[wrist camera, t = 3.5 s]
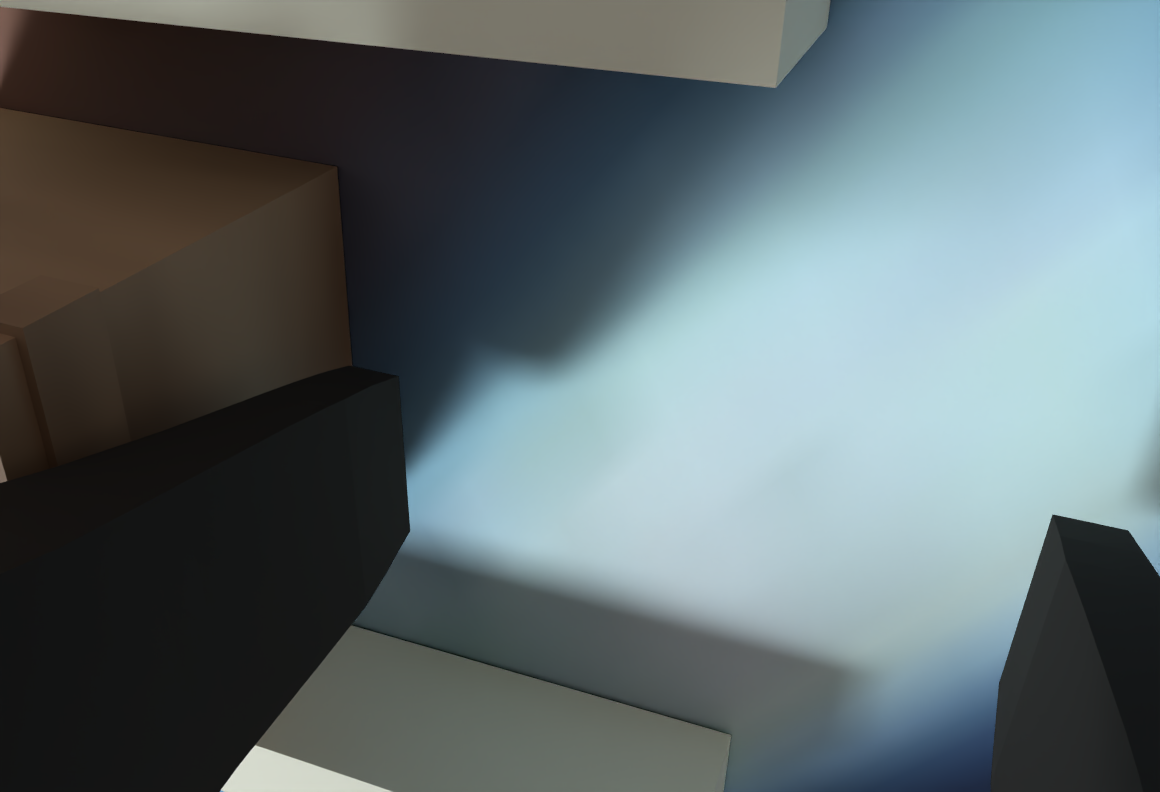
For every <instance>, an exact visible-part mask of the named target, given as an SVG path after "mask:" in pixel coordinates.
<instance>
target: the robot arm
mask: <svg viewBox="0 0 1160 792" xmlns="http://www.w3.org/2000/svg"><path fill="white" fill-rule="evenodd" d="M409 532H410V524H409V510H408V496H407V483H406V469H405V455H404V442H403V428H402V414H401V400H400V387H399V376H396V375H391V374H386V373H382V372H377V371H372V370H367V369H363V368H358V367H353V366H345V367H341V368H337V369H333V370H330V371H326V372H323V373H320V374H316V375H313V376H310V377H307V378H304V379H301V380H299V381H296V382H293V383H290V384H287V385H284V386H282V387H279V388H276V389H274V390H271V391H268V392H265V393H263V394H260V395H257V396H255V397H252V398H249V399H247V400H244V401H241V402H239V403H236V404H233V405H231V406H228V407H225V408H223V409H220V410H217V411H214V412H212V413H209V414H206V415H204V416H201V417H198V418H196V419H193V420H190V421H188V422H185V423H182V424H180V425H177V426H174V427H172V428H169V429H166V430H163V431H161V432H158V433H155V434H152V435H149V436H146V437H143V438H140V439H137V440H134V441H131V442H128V443H125V444H122V445H119V446H116V447H113V448H110V449H107V450H104V451H102V452H99V453H96V454H93V455H90V456H87V457H84V458H81V459H78V460H75V461H72V462H69V463H66V464H63V465H60V466H57V467H53V468H50V469H47V470H43V471H40V472H37V473H33V474H30V475H26V476H23V477H19V478H16V479H13V480H9V481H6V482H2V483H0V792H220V790H221V789H222V788H223V786H224V785H225V784H226V782H227V781H228V780H229V778H230V777H231V775H232V774H233V773H234V771H235V770H236V769H237V767H238V766H239V765H240V763H241V762H242V761H243V760H244V758H245V757H246V756H247V755H248V753H249V752H250V751H251V750H252V748H253V747H254V746H255V745H256V744H257V742H258V741H259V740H260V739H261V737H262V736H263V735H264V734H265V732H266V731H267V730H268V729H269V727H270V726H271V725H272V724H273V722H274V721H275V720H276V719H277V717H278V716H279V715H280V714H281V712H282V711H283V710H284V709H285V707H286V706H287V705H288V704H289V702H290V701H291V700H292V699H293V698H294V696H295V695H296V694H297V693H298V691H299V690H300V689H301V688H302V686H303V685H304V684H305V683H306V681H307V680H308V679H309V678H310V676H311V675H312V674H313V673H314V671H315V670H316V669H317V668H318V667H319V665H320V664H321V663H322V662H323V660H324V659H325V658H326V656H327V655H328V654H329V653H330V651H331V650H332V649H333V648H334V646H335V645H336V644H337V643H338V641H339V640H340V639H341V637H342V636H343V635H344V634H345V632H346V631H347V630H348V629H349V627H350V626H351V625H352V623H353V622H354V621H355V620H356V618H357V617H358V616H359V614H360V613H361V612H362V610H363V609H364V608H365V606H366V605H367V603H368V602H369V600H370V599H371V597H372V595H373V594H374V592H375V590H376V589H377V587H378V586H379V584H380V582H381V581H382V579H383V577H384V576H385V574H386V573H387V571H388V569H389V567H390V565H391V564H392V562H393V560H394V558H395V557H396V555H397V553H398V551H399V549H400V548H401V546H402V544H403V542H404V541H405V539H406V537H407V535H408V533H409ZM991 792H1160V576H1159V575H1158V573H1157V572H1156V570H1155V569H1154V567H1153V566H1152V564H1151V563H1150V561H1149V560H1148V559H1147V557H1146V556H1145V554H1144V553H1143V551H1142V550H1141V548H1140V547H1139V545H1138V544H1137V543H1136V541H1135V540H1134V538H1133V537H1132V535H1131V534H1130V532H1129V531H1128V530H1123V529H1119V528H1114V527H1109V526H1104V525H1100V524H1095V523H1090V522H1086V521H1081V520H1076V519H1071V518H1067V517H1062V516H1057V515H1052V518H1051V521H1050V525H1049V528H1048V531H1047V534H1046V537H1045V540H1044V543H1043V547H1042V550H1041V553H1040V556H1039V559H1038V562H1037V566H1036V569H1035V572H1034V575H1033V578H1032V581H1031V584H1030V588H1029V591H1028V594H1027V597H1026V600H1025V603H1024V607H1023V610H1022V613H1021V616H1020V619H1019V622H1018V625H1017V629H1016V632H1015V635H1014V638H1013V641H1012V644H1011V647H1010V651H1009V654H1008V657H1007V660H1006V663H1005V666H1004V670H1003V673H1002V676H1001V679H1000V682H999V690H998V701H997V712H996V723H995V734H994V746H993V759H992V772H991Z"/></svg>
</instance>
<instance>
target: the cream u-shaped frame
mask: <svg viewBox="0 0 1160 792" xmlns="http://www.w3.org/2000/svg"><path fill="white" fill-rule="evenodd" d="M830 1H831V0H0V7H9V8H18V9H28V10H37V11H47V12H56V13H66V14H75V15H85V16H94V17H104V18H114V19H123V20H133V21H142V22H152V23H161V24H171V25H180V26H190V27H199V28H209V29H218V30H228V31H237V32H247V33H257V34H266V35H276V36H285V37H295V38H304V39H314V40H323V41H333V42H342V43H352V44H361V45H371V46H380V47H390V48H400V49H409V50H419V51H428V52H438V53H447V54H457V55H466V56H476V57H485V58H495V59H504V60H514V61H523V62H533V63H543V64H552V65H562V66H571V67H581V68H590V69H600V70H609V71H619V72H628V73H638V74H647V75H657V76H666V77H676V78H686V79H695V80H705V81H714V82H724V83H733V84H743V85H752V86H762V87H771V88H776V87H777V86H778V85H779V84H780V83H781V81H782V80H783V79H784V78H785V77H786V75H787V74H788V73H789V72H790V71H791V70H792V68H793V67H794V66H795V65H796V64H797V62H798V61H799V60H800V59H801V58H802V57H803V55H804V54H805V53H806V52H807V51H808V49H809V48H810V47H811V46H812V45H813V44H814V42H815V41H816V40H817V39H818V38H819V36H820V35H821V34H822V33H823V32H824V31H825V29H826V28H827V23H828V16H829V8H830ZM730 741H731V735H729V734H725V733H722V732H718V731H715V730H712V729H708V728H705V727H701V726H698V725H694V724H691V723H687V722H684V721H680V720H677V719H674V718H670V717H667V716H663V715H660V714H656V713H653V712H649V711H646V710H642V709H639V708H636V707H632V706H629V705H625V704H622V703H618V702H615V701H611V700H608V699H604V698H601V697H597V696H594V695H591V694H587V693H584V692H580V691H577V690H573V689H570V688H566V687H563V686H559V685H556V684H553V683H549V682H546V681H542V680H539V679H535V678H532V677H528V676H525V675H521V674H518V673H515V672H511V671H508V670H504V669H501V668H497V667H494V666H490V665H487V664H483V663H480V662H476V661H473V660H470V659H466V658H463V657H459V656H456V655H452V654H449V653H445V652H442V651H438V650H435V649H432V648H428V647H425V646H421V645H418V644H414V643H411V642H407V641H404V640H400V639H397V638H394V637H390V636H387V635H383V634H380V633H376V632H373V631H369V630H366V629H362V628H359V627H356V626H352V625H351V626H350V627H349V629H348V630H347V631H346V632H345V634H344V635H343V636H342V637H341V639H340V640H339V641H338V643H337V644H336V645H335V646H334V648H333V649H332V650H331V651H330V653H329V654H328V655H327V656H326V658H325V659H324V660H323V662H322V663H321V664H320V665H319V667H318V668H317V669H316V670H315V671H314V673H313V674H312V675H311V676H310V678H309V679H308V680H307V681H306V683H305V684H304V685H303V686H302V688H301V689H300V690H299V691H298V693H297V694H296V695H295V696H294V698H293V699H292V700H291V701H290V702H289V704H288V705H287V706H286V707H285V709H284V710H283V711H282V712H281V714H280V715H279V716H278V717H277V719H276V720H275V721H274V722H273V724H272V725H271V726H270V727H269V729H268V730H267V731H266V732H265V734H264V735H263V736H262V737H261V739H260V740H259V741H258V742H257V744H256V745H255V746H254V747H253V748H252V750H251V751H250V752H249V753H248V755H247V756H246V757H245V758H244V760H243V761H242V762H241V763H240V765H239V766H238V767H237V769H236V770H235V771H234V773H233V774H232V775H231V777H230V778H229V780H228V781H227V782H226V784H225V785H224V786H223V788H222V789H221V790H222V791H225V792H724V785H725V778H726V771H727V763H728V756H729V748H730Z"/></svg>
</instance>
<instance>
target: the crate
mask: <svg viewBox="0 0 1160 792" xmlns="http://www.w3.org/2000/svg"><path fill="white" fill-rule="evenodd" d="M345 366H352V355H351V342H350V329H349V316H348V303H347V290H346V277H345V263H344V250H343V237H342V224H341V211H340V198H339V185H338V172H337V167H336V166H331V165H325V164H319V163H313V162H308V161H302V160H296V159H290V158H285V157H279V156H273V155H267V154H262V153H256V152H250V151H244V150H239V149H233V148H227V147H222V146H216V145H210V144H204V143H199V142H193V141H187V140H181V139H176V138H170V137H164V136H158V135H153V134H147V133H141V132H135V131H130V130H124V129H118V128H113V127H107V126H101V125H95V124H90V123H84V122H78V121H72V120H67V119H61V118H55V117H49V116H44V115H38V114H32V113H26V112H21V111H15V110H9V109H4V108H0V483H2V482H6V481H9V480H13V479H16V478H19V477H23V476H26V475H30V474H33V473H37V472H40V471H43V470H47V469H50V468H53V467H57V466H60V465H63V464H66V463H69V462H72V461H75V460H78V459H81V458H84V457H87V456H90V455H93V454H96V453H99V452H102V451H104V450H107V449H110V448H113V447H116V446H119V445H122V444H125V443H128V442H131V441H134V440H137V439H140V438H143V437H146V436H149V435H152V434H155V433H158V432H161V431H163V430H166V429H169V428H172V427H174V426H177V425H180V424H182V423H185V422H188V421H190V420H193V419H196V418H198V417H201V416H204V415H206V414H209V413H212V412H214V411H217V410H220V409H223V408H225V407H228V406H231V405H233V404H236V403H239V402H241V401H244V400H247V399H249V398H252V397H255V396H257V395H260V394H263V393H265V392H268V391H271V390H274V389H276V388H279V387H282V386H284V385H287V384H290V383H293V382H296V381H299V380H301V379H304V378H307V377H310V376H313V375H316V374H320V373H323V372H326V371H330V370H333V369H337V368H341V367H345Z"/></svg>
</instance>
